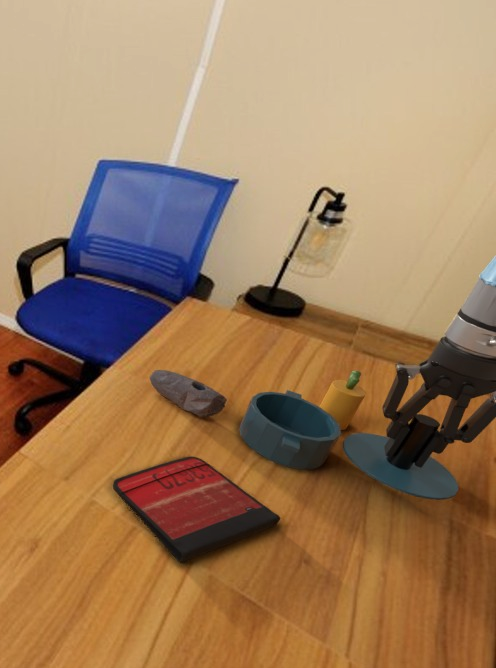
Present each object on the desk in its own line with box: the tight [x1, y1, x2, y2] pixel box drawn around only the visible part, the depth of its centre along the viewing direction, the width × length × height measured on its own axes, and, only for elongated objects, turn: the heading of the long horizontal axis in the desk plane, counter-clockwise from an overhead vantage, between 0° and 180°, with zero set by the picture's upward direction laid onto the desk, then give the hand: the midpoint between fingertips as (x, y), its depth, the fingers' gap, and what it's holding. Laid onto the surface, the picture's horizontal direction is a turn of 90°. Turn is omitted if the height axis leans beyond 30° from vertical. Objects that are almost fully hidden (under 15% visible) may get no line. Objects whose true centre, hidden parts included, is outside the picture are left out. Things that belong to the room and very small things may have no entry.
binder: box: [112, 456, 281, 563], centre depth 88 cm, size 16×2×21 cm
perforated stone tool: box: [149, 369, 228, 418], centre depth 111 cm, size 15×5×7 cm, turn 29°
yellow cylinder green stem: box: [318, 370, 367, 431], centre depth 103 cm, size 5×5×13 cm
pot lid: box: [342, 413, 459, 501], centre depth 87 cm, size 15×15×11 cm
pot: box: [238, 389, 342, 471], centre depth 100 cm, size 14×19×8 cm
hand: (402, 456), depth 88 cm, fingers closed on pot lid, 3 cm apart
